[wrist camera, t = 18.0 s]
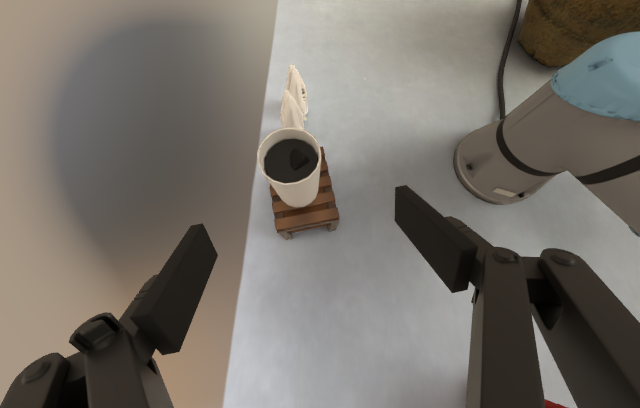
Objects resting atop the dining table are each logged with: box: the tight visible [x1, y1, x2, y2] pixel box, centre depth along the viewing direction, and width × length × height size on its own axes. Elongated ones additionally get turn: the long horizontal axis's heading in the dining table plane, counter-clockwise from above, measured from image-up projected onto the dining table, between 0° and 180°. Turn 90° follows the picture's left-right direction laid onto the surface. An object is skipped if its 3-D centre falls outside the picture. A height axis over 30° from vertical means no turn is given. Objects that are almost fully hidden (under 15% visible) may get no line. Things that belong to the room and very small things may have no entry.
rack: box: [270, 147, 339, 240], centre depth 37 cm, size 9×12×9 cm
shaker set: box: [280, 64, 308, 130], centre depth 41 cm, size 12×4×11 cm, turn 176°
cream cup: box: [258, 127, 321, 208], centre depth 28 cm, size 7×7×10 cm
